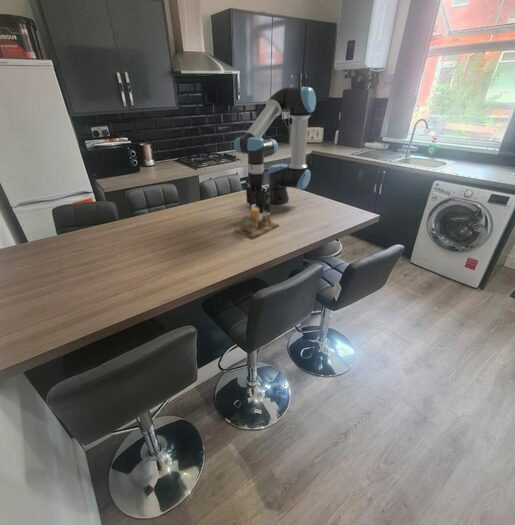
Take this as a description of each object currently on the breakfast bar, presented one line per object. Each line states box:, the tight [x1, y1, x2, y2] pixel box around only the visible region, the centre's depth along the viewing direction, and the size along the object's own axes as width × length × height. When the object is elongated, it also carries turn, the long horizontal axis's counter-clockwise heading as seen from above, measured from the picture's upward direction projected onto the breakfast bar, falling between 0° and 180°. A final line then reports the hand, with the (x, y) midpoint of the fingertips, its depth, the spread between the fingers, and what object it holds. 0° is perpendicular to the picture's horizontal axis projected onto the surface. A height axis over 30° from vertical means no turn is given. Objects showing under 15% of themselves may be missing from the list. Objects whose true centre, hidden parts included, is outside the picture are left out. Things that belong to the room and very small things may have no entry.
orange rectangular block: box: [250, 207, 263, 222], centre depth 152 cm, size 5×4×6 cm
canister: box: [254, 185, 271, 214], centre depth 167 cm, size 10×10×18 cm
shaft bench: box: [234, 212, 280, 240], centre depth 154 cm, size 20×14×7 cm
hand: (256, 217), depth 153 cm, fingers closed on orange rectangular block, 4 cm apart
